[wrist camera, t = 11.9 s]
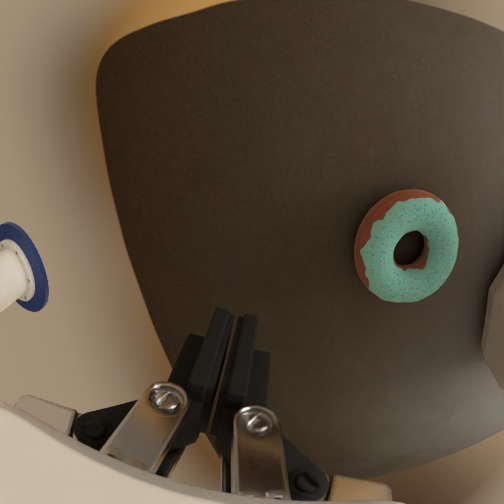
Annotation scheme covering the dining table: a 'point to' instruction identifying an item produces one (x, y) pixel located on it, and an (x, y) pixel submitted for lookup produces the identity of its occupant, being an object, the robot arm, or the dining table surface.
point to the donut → (390, 232)
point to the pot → (495, 329)
